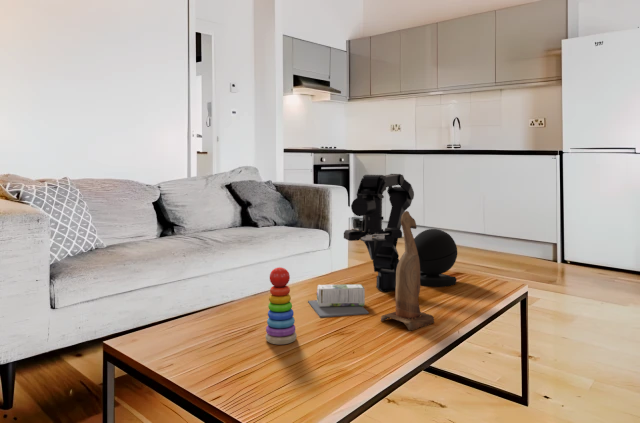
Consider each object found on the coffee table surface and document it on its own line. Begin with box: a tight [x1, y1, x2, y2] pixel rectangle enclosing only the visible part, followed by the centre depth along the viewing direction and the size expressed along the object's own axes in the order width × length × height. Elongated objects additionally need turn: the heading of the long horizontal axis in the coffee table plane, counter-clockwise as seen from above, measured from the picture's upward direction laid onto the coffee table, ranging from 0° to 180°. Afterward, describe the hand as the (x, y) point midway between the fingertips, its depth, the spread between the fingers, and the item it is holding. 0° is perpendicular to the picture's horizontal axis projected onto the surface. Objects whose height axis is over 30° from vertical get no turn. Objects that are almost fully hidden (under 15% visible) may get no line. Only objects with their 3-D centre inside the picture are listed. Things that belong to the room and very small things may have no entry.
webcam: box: [413, 228, 458, 288], centre depth 186 cm, size 17×17×20 cm
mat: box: [307, 299, 370, 318], centre depth 153 cm, size 15×16×1 cm
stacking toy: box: [265, 266, 297, 345], centre depth 125 cm, size 8×8×19 cm
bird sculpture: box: [380, 210, 435, 332], centre depth 138 cm, size 11×12×32 cm
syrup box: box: [316, 283, 366, 307], centre depth 155 cm, size 6×6×14 cm
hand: (372, 259), depth 163 cm, fingers closed
